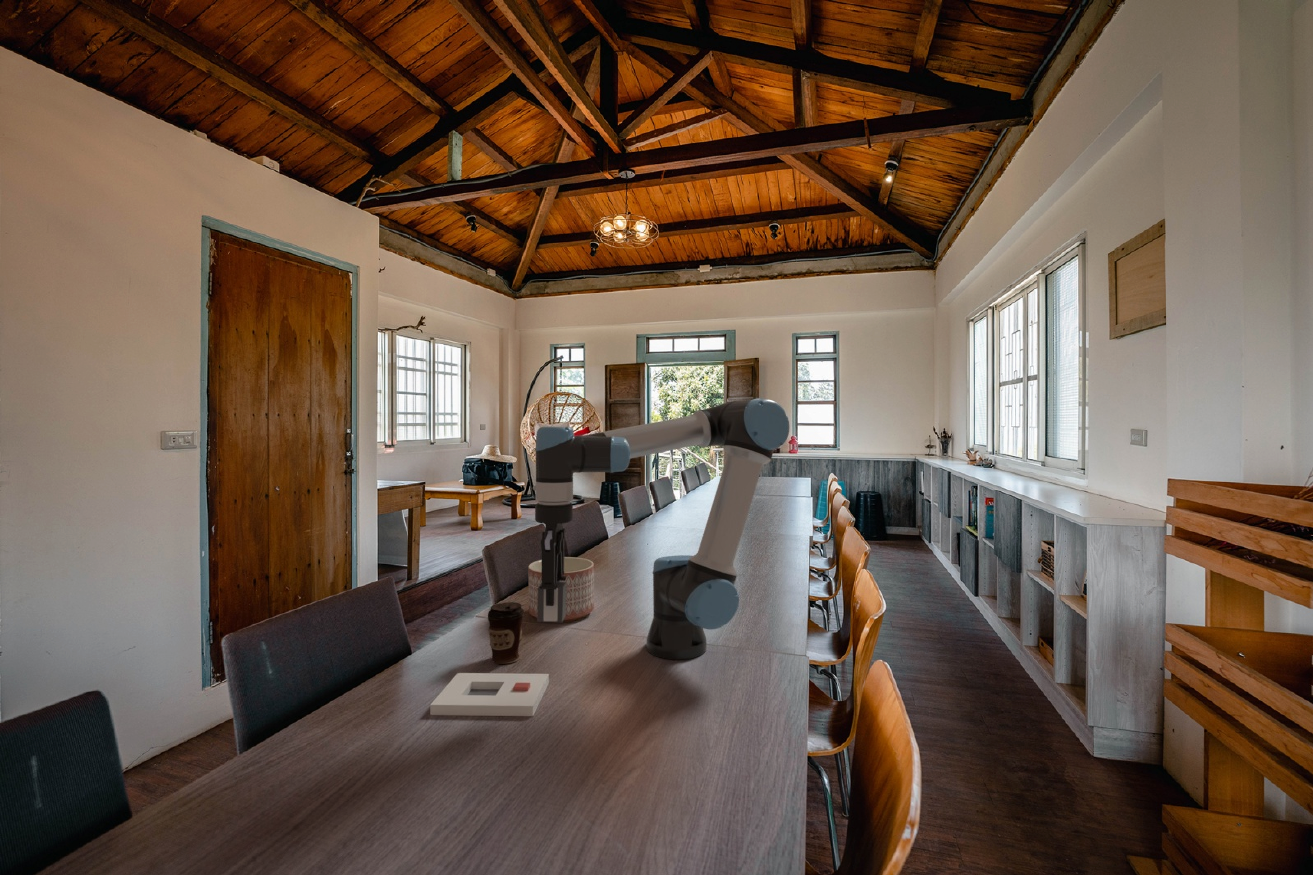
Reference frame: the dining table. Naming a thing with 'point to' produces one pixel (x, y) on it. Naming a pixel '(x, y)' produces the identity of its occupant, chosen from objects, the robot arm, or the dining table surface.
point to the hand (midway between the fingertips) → (552, 616)
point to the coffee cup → (505, 631)
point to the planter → (567, 587)
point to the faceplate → (491, 694)
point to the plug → (561, 603)
